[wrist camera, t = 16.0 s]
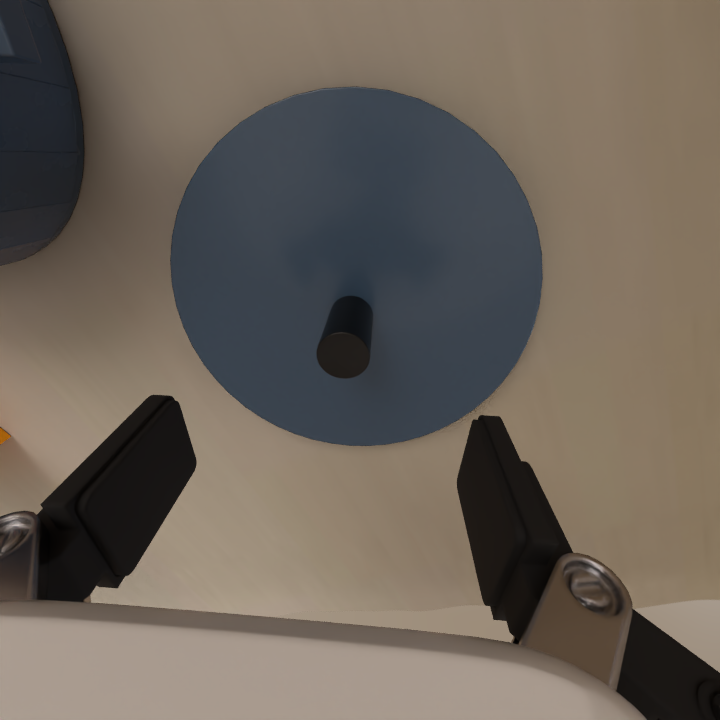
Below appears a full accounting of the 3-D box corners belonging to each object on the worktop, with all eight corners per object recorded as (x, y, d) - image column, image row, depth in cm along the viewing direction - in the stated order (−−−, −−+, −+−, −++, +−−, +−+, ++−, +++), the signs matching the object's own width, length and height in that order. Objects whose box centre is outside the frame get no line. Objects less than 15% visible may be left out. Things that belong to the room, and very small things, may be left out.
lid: (131, 84, 15) (11, 49, 10) (596, 97, 14) (705, 66, 9) (217, 425, 25) (178, 489, 20) (487, 444, 24) (512, 514, 20)
